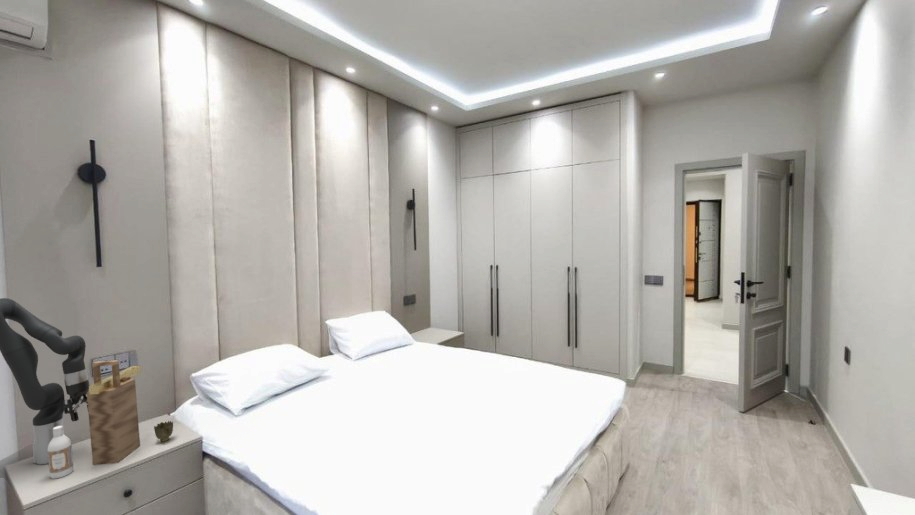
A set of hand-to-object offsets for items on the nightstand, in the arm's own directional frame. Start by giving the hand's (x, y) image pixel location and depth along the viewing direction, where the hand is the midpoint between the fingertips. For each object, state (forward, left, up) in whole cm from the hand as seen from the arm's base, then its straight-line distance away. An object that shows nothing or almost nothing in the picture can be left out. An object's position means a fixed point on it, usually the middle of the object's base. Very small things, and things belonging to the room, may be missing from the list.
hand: (83, 416), depth 176 cm
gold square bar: (+14, +1, +14) cm, 20 cm away
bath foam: (+1, -14, -18) cm, 23 cm away
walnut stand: (+14, -2, -18) cm, 23 cm away
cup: (+28, +8, -18) cm, 34 cm away
